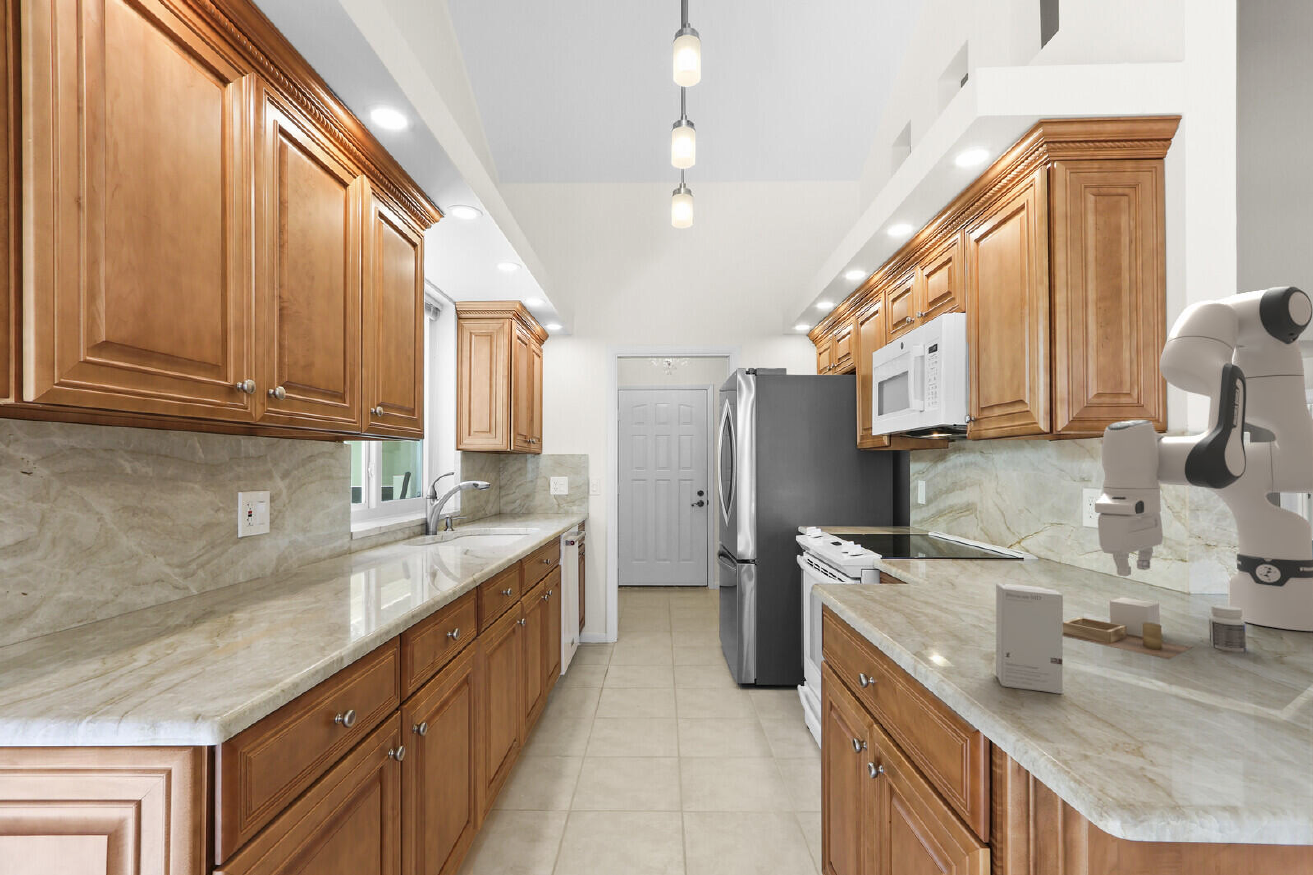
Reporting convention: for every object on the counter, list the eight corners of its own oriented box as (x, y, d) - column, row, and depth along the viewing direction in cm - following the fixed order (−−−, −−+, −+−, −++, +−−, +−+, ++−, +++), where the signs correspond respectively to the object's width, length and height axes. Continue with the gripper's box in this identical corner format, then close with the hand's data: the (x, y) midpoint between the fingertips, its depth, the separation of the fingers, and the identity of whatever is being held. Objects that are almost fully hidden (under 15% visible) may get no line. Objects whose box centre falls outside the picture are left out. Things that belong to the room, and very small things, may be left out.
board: (1084, 631, 122) (1084, 605, 122) (1193, 653, 107) (1192, 624, 108) (1056, 640, 115) (1056, 613, 115) (1168, 666, 101) (1167, 634, 101)
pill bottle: (1254, 659, 104) (1252, 611, 105) (1222, 657, 105) (1220, 609, 106) (1233, 651, 109) (1231, 604, 109) (1203, 649, 110) (1202, 603, 110)
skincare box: (1001, 687, 91) (999, 588, 92) (995, 674, 96) (993, 581, 97) (1066, 695, 88) (1063, 593, 88) (1056, 681, 93) (1053, 585, 94)
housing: (1123, 632, 121) (1122, 597, 121) (1160, 639, 116) (1159, 603, 116) (1110, 636, 118) (1109, 601, 118) (1148, 644, 113) (1147, 607, 113)
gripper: (1133, 498, 127) (1136, 563, 126) (1090, 504, 115) (1092, 576, 115) (1171, 499, 121) (1173, 568, 121) (1129, 506, 110) (1132, 582, 110)
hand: (1134, 572), depth 118 cm, fingers open, 8 cm apart
